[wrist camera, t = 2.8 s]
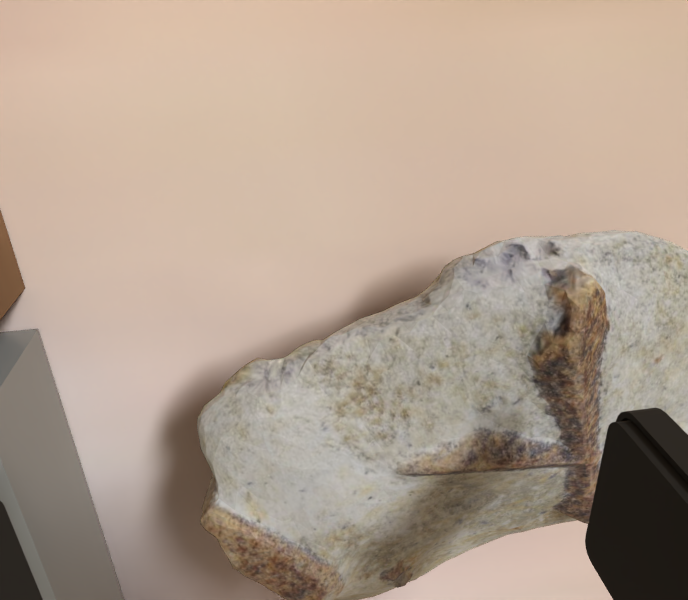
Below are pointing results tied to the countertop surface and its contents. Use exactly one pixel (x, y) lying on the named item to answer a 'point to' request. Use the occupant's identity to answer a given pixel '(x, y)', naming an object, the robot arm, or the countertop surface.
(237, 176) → the countertop surface
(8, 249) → the walnut stand
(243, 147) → the countertop surface
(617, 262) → the stone
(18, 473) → the slate stand
